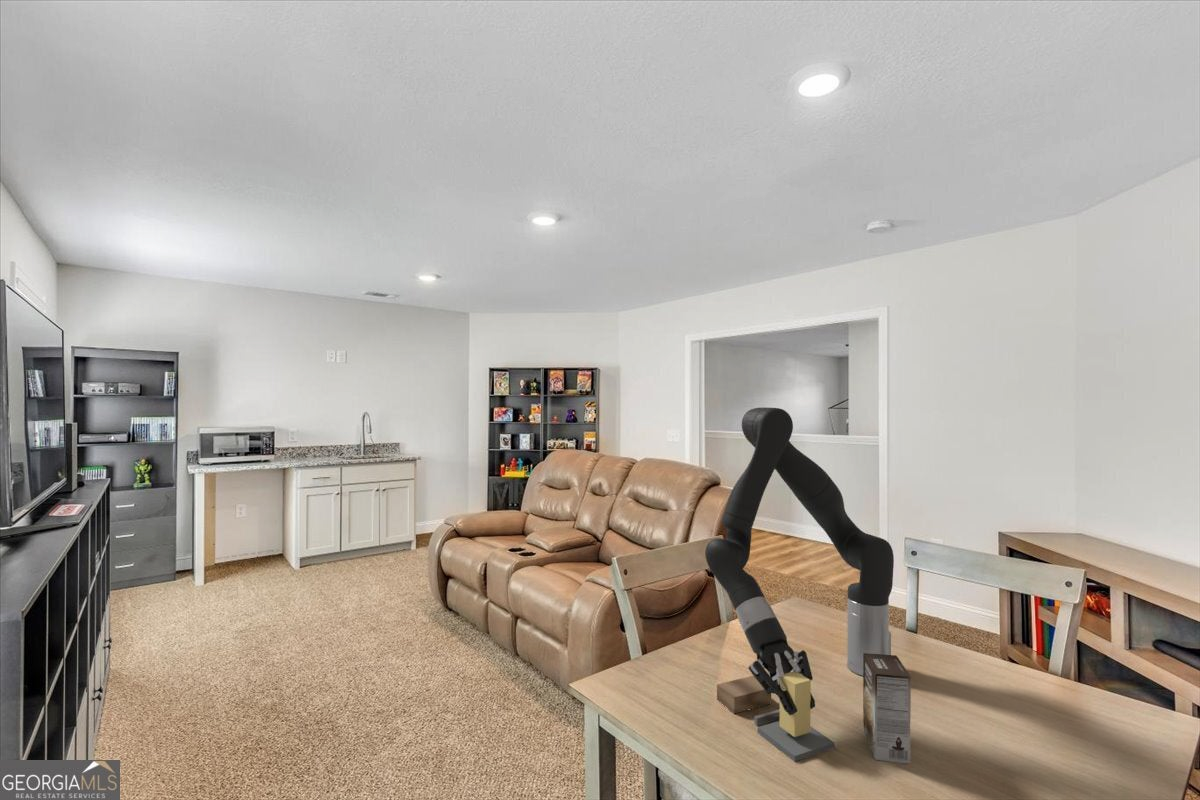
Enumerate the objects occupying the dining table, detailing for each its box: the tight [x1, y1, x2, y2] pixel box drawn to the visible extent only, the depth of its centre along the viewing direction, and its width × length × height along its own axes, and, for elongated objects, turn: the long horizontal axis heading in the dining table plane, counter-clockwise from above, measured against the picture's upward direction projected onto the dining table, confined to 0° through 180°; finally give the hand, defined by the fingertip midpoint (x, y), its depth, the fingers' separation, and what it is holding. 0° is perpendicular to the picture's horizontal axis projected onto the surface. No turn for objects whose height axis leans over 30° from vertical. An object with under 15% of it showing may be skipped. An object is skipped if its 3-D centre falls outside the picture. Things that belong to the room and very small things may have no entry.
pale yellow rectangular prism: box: [779, 671, 812, 737], centre depth 109 cm, size 4×4×10 cm
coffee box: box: [862, 653, 912, 765], centre depth 107 cm, size 9×6×16 cm
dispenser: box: [716, 675, 780, 727], centre depth 121 cm, size 10×11×4 cm
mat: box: [757, 720, 836, 763], centre depth 109 cm, size 10×10×1 cm
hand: (802, 710), depth 108 cm, fingers closed on pale yellow rectangular prism, 4 cm apart
